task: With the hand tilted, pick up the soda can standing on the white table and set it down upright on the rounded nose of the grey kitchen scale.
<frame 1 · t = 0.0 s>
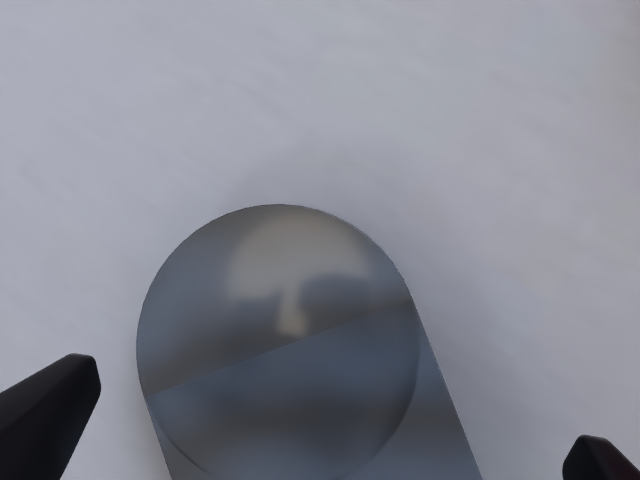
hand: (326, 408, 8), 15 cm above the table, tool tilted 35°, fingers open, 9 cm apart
grey kitchen scale: (329, 458, 23), on the table
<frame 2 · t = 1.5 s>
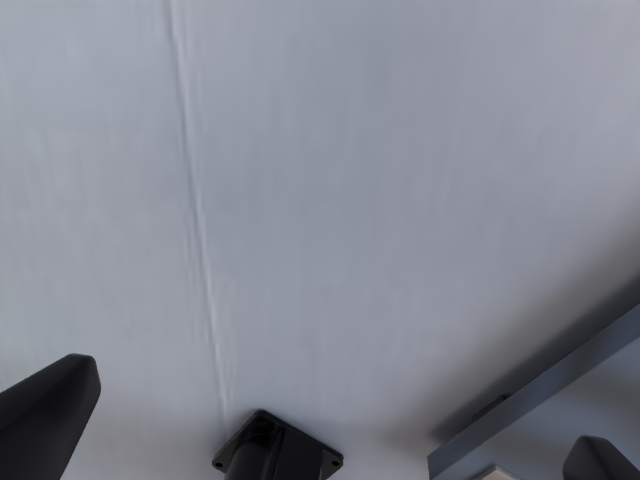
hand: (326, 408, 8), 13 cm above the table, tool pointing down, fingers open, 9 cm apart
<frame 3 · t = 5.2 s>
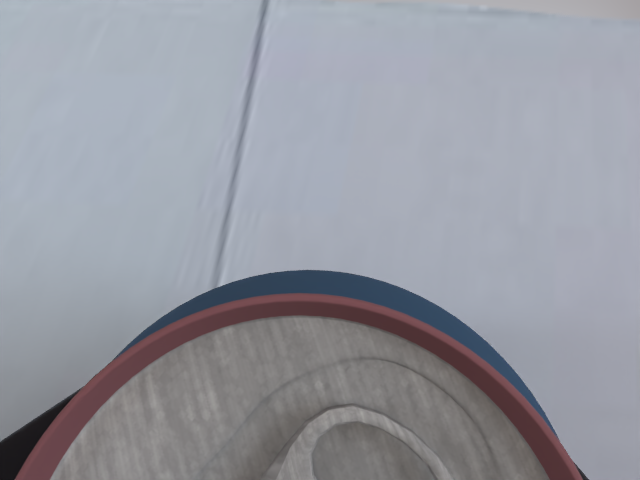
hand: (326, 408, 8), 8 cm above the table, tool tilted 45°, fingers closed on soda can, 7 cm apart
soda can: (323, 429, 16), on the table, touching gripper
when the fingers open (11 cm above the table, at t = 13.1 s): soda can stays where it is, resting on grey kitchen scale.
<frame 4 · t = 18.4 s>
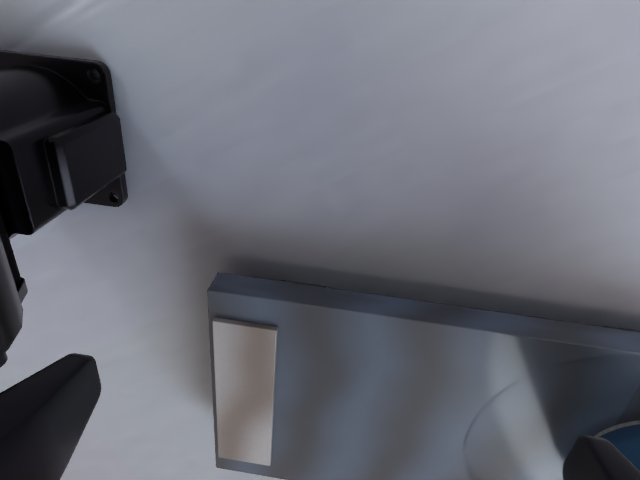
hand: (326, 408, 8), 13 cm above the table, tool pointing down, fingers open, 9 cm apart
grey kitchen scale: (456, 385, 25), on the table
soda can: (637, 455, 22), point 3 cm above the table, touching grey kitchen scale
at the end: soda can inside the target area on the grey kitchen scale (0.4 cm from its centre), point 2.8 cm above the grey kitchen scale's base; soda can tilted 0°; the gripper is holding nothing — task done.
